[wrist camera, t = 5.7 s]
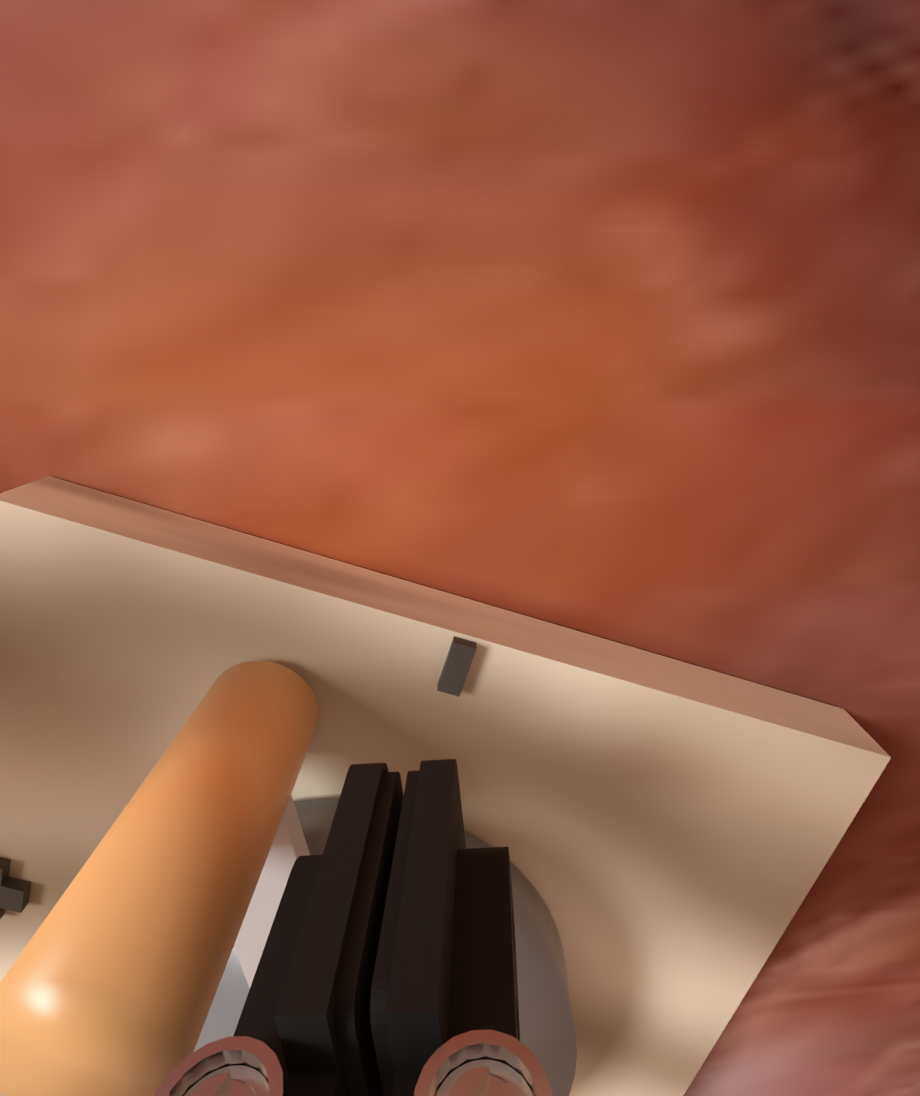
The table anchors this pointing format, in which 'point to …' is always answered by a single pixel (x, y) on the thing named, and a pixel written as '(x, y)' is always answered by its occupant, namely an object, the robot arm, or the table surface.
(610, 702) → the board
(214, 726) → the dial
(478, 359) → the table surface
